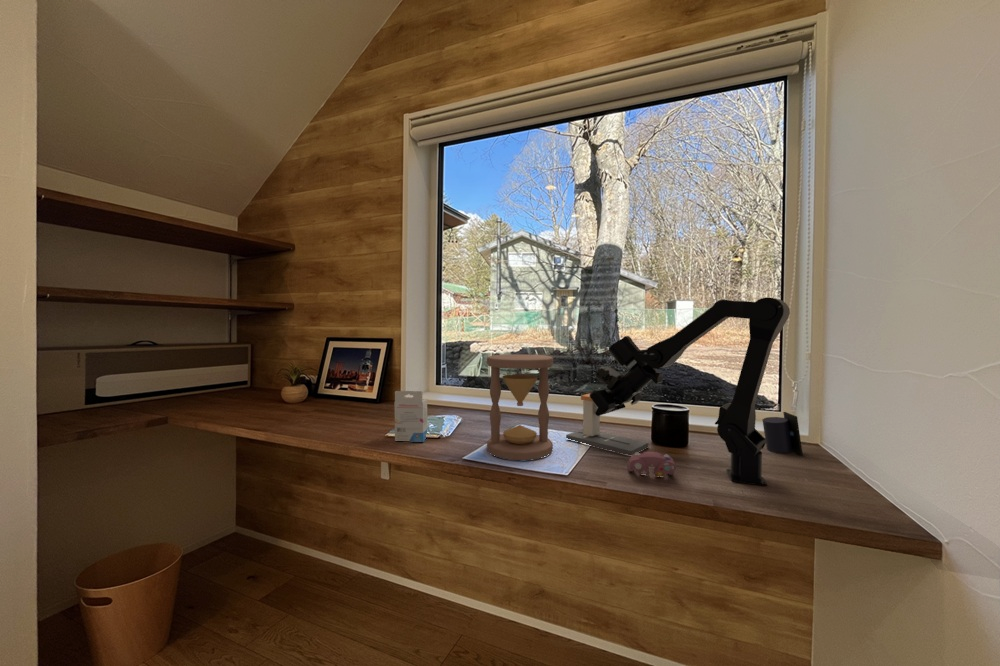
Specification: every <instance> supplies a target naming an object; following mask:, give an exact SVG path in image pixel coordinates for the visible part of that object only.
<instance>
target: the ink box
mask: <svg viewBox="0 0 1000 666" xmlns="http://www.w3.org/2000/svg"><path fill="white" fill-rule="evenodd" d="M408 395H409V396H410V397H409V396H408ZM405 396H406V397H405ZM407 396H408V397H407ZM411 396H413V397H411ZM393 404H394V405H393V406H394V442H395V441H413V442H423V443H424V442H425V441H426V440H427V439H426V434H427V432H428V398H423V392H422V391H421V390H417V391H416V390H395V391H394V403H393ZM425 439H426V440H425Z"/></svg>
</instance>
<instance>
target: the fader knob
mask: <svg viewBox="0 0 1000 666" xmlns="http://www.w3.org/2000/svg"><path fill="white" fill-rule="evenodd" d="M580 400H581V401H583V403H582V405H583V407H582V408H583V409H582V411H583V414H582V417H583V418H582V422H583V424H582V429H583V434H585V435H589V436H594V435H597V434H600V432H601V429H600V428H601V423H600V422H601V415H600V416H597V415H596V414H595V413H596V411H597V409H598V407H597V405H596V404H595V403H594V401H593V400H592V399H591V397H590V393H585V394H582V395H580Z"/></svg>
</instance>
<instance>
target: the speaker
mask: <svg viewBox="0 0 1000 666" xmlns="http://www.w3.org/2000/svg"><path fill="white" fill-rule="evenodd" d="M798 420H799V419H798V416H797V415H794V414H791V413H789V412H787V411H783V417H781V416H780V417H779V416H769V417H765V418H762V426H763V432H764V438H765V439H766V440H767V442H766V444H765V446H766V450H767V451H768V452H771V453H776V454H788V453H790V452H792V453H794V454H796V455H797V454H798V456H799V457H804V454H803V447H802V442H801V441H802V439H801V434H800V428H799V421H798Z"/></svg>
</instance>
